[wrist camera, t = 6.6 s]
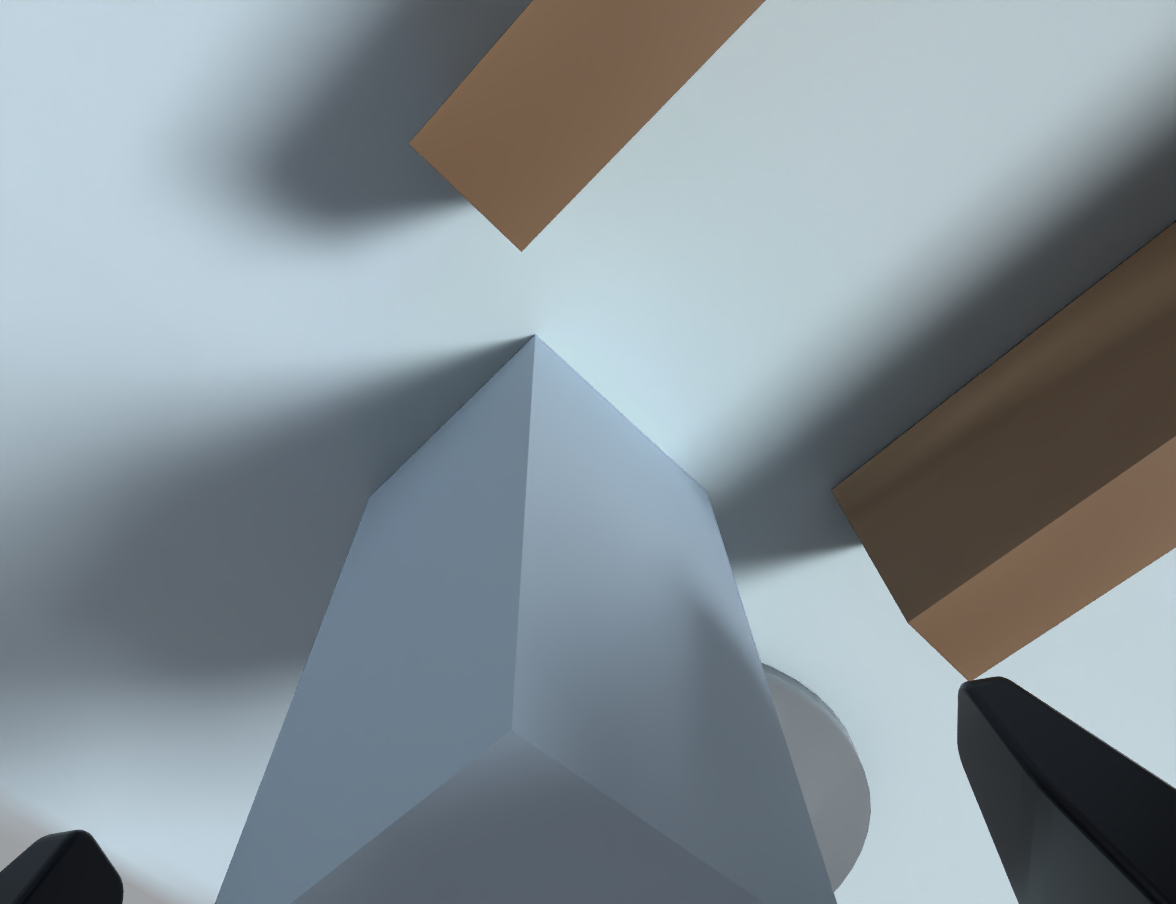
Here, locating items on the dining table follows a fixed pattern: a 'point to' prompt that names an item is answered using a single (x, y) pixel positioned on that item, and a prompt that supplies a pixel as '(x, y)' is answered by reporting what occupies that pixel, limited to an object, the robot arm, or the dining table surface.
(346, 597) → the block
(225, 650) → the dining table surface
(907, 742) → the dining table surface
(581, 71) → the frame
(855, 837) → the coaster
